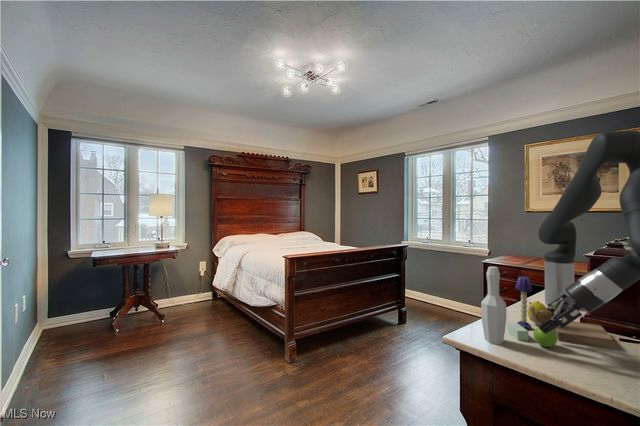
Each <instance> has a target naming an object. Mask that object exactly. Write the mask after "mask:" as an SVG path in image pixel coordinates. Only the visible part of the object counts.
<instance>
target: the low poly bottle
mask: <svg viewBox="0 0 640 426" xmlns="http://www.w3.org/2000/svg"><path fill="white" fill-rule="evenodd" d="M500 276H501V273H500V270H499V267H497V266H488V268H487V271H486V282H487V295H486V296H485V297H484V298H483V299H482V301H480V302H481V303H480V308H481V309H480V310H481V312H480V313H481V315H480V316H481V321H482V322H481V323H482V329H483V334H484V335H483V336H484V341H486V340H487V341H486V342H487V343H489V342H490V343H491V344H493V343H494V345H502V344H503V343H504V341H505V334H506V333H505V332H506V325H507V302H505V300H504V299H503V298H502V297H501V296H500V278H501V277H500ZM490 343H489V344H490Z"/></svg>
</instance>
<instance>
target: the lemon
mask: <svg viewBox="0 0 640 426" xmlns="http://www.w3.org/2000/svg"><path fill="white" fill-rule="evenodd" d="M530 306H533V307H534V308H535V314H537V312H538V311H540V310H547V309H546V308H547V307H546V305H545V304H543V303H542V302H540V301H538V300H536V301H533V302H531V304H529V305H528V306H527V316H528V318H529V320H530V321H531V322H533V323H534V324H536V323H535V322H534V321H533V319H532V316H531V313H530V310H529V307H530Z"/></svg>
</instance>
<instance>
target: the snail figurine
mask: <svg viewBox="0 0 640 426" xmlns="http://www.w3.org/2000/svg"><path fill="white" fill-rule="evenodd" d="M531 303H532V302H531V301H528V304H529V305H530V304H531ZM528 307H529V306H528ZM529 310H530V313H531V316H532V319H533V321H534V322H535V323H534V322H533V321H532V322H533V323H534V324H535V325H536V326H538V327H536V328H535V329H534V331H533V339H534V340H535V341H536V343H538V345H540V346H542V347H543V348H544V347H545V348H552V347H553V346H556V344H557V342H558V339H557V335H556V333H555V332H554V330H551V331H550V332H548V333H547V334H545V333H543V332H542V331H541V330H540V329H539V326H540V325H541V324H543V323H544V322H546V321H547V320H549V319H551V317H552V316H553V315H554V314H553V313H552V312H551V311H549V310H540V311H538V312H537V314H535V308H534V307H533V306H530V307H529Z"/></svg>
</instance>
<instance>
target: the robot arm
mask: <svg viewBox="0 0 640 426" xmlns="http://www.w3.org/2000/svg"><path fill="white" fill-rule="evenodd" d="M605 164H625V165H626V166H627V169H628V172H629V173H628V174H629V175H628V179H627V180H626V182H625V184H624V186H623V188H622V189H621V191H620V193H619V206H620V209H621V212H622V215H623V218H624V221H625V222H626V225H627V230H628V231H627V232H628V237H629V238H628V239H629V240H630V241H629V242H630V244H631V248H632V249H633V250H632V251H630V252H628V253H627V254H625V255H624V256H621V257H619V256H614V257H611V258H609V259H608V260H606V261H605V262H603V263H602V264H601V265H599V266H598V267H596V268H594V269H593V270H591V271H589V272H587V273H586V274H584V275H583V276H581V277H580V278H578V279H576V281H575V257H576V250H577V249H576V248H577V228H576V226H575V224H574V223H573V220H574V219H577V218H578V217H581V216H582V215H585V214H586V213H588V212H590V210H591V209H592V208H593V207H594V205H595V204H596V203H597V202H598V200H599V199H600V197H601V195H602V187H601V183H600V181H599V178H598V172H599V170H600V169H601V167H602V166H603V165H605ZM538 239H539V241H540V242H542V243H543V244H544V245H545V244H546V245H558V247H557V248H555V249H554V250H551V251H548V252H546V253H545V254H544V259H543V260H544V303H545V304H546V305H547V307H546V309H547V310H549V311H551V312H552V313H553V314H554V315H553V316H552V317H551V319H549V320H547V321H546V322H544V323H543V324H541V325H540V326H539V325H538V327H539V329H540V330H541V331H542V332H543V333H545V334H547V333H548V332H550V331H551V330H553V329H554V328H556V327H557V326H558V327H561V328H564V327H565V326H567V325H568V324H569V323H571V322H575V321H576V320H577V319H579V318H580V317H582V315H583V313H581V310H582V309H584V310H586V312H590V313H592V312H593V311H596V310H597V309H599V308H600V307H602V306H603V305H605V304H606V303H608V302H609V301H611V300H613V299H614V298H615V297H617V296H618V295H619V294H620V293H622V292H623V291H624V290H627V288H629V287H631V286H632V285H634V284H635V283H636V282H638V281H639V280H640V131H637V130H610V131H609V130H607V131H602V132H599V133H597V134H596V135H595V136H594V137H593V139H592V140H591V141H590V143H589V145H588V147H587V149H586V151H585V154H584V156H583V158H582V160H581V162H580V164H579V166H578V168H577V170H576V172H575V174H574V176H573V177H572V179H571V180H570V182H569V183H568V185H567V187H565V190H564V191H563V193H562V194H561V196H560V198H559V200H558V201H557V203H556V205H555V206H554V208H553V209H552V210H551V212H550V213H549V214H548V215H547V216H546V217H545V218H544V220H543V221H542V223H541V224H540V226H539V229H538ZM560 320H561V321H560ZM553 331H554V330H553Z"/></svg>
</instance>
